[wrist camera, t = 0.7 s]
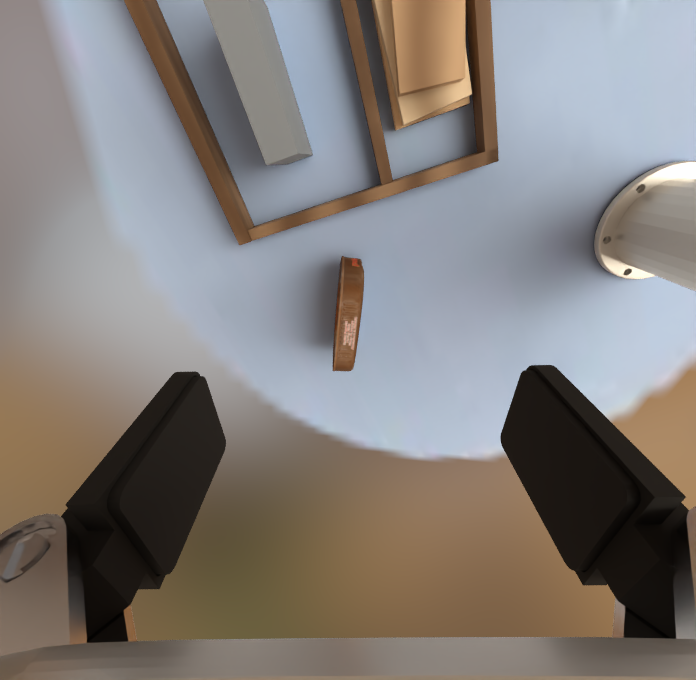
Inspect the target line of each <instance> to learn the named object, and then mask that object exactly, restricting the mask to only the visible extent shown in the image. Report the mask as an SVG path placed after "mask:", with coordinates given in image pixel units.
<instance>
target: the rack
mask: <svg viewBox="0 0 696 680" xmlns="http://www.w3.org/2000/svg"><path fill="white" fill-rule="evenodd" d="M124 1H125V3H126V6H127V8H128V10H129V12H130V14H131V16H132V18H133V20H134V23H135V25H136V27H137V29H138V31H139V33H140V35H141V37H142V40H143V42H144V44H145V46H146V48H147V50H148V52H149V54H150V56H151V59H152V61H153V63H154V65H155V67H156V69H157V71H158V73H159V76H160V78H161V80H162V82H163V84H164V86H165V88H166V90H167V93H168V95H169V97H170V99H171V101H172V103H173V105H174V107H175V109H176V112H177V114H178V116H179V118H180V120H181V122H182V124H183V126H184V129H185V131H186V133H187V135H188V137H189V139H190V141H191V143H192V146H193V148H194V150H195V152H196V154H197V156H198V158H199V160H200V162H201V165H202V167H203V169H204V171H205V173H206V175H207V177H208V179H209V182H210V184H211V186H212V188H213V190H214V192H215V194H216V196H217V199H218V201H219V203H220V205H221V207H222V209H223V211H224V213H225V215H226V218H227V220H228V222H229V224H230V226H231V228H232V230H233V232H234V235H235V237H236V239H237V241H238V243H239V245H242V244H245V243H248V242H251V241H253V240H256V239H259V238H262V237H265V236H268V235H271V234H274V233H277V232H280V231H284V230H287V229H290V228H293V227H296V226H299V225H302V224H305V223H308V222H311V221H314V220H318V219H321V218H324V217H327V216H330V215H333V214H336V213H339V212H342V211H345V210H348V209H352V208H355V207H358V206H361V205H364V204H367V203H370V202H373V201H376V200H379V199H382V198H385V197H389V196H392V195H395V194H398V193H401V192H404V191H407V190H410V189H413V188H416V187H419V186H423V185H426V184H429V183H432V182H435V181H438V180H441V179H444V178H447V177H450V176H453V175H456V174H460V173H463V172H466V171H469V170H472V169H475V168H478V167H481V166H484V165H487V164H490V163H494V162H497V161H498V142H497V122H496V102H495V82H494V62H493V42H492V22H491V2H490V0H465V7H466V20H467V32H468V45H469V57H470V70H471V83H472V95H473V108H474V120H475V133H476V146H477V152H476V153H473V154H470V155H467V156H464V157H461V158H458V159H455V160H452V161H449V162H446V163H443V164H440V165H437V166H434V167H431V168H428V169H425V170H422V171H419V172H416V173H413V174H410V175H407V176H404V177H401V178H398V179H395V180H393V179H392V174H391V169H390V165H389V160H388V155H387V150H386V145H385V140H384V135H383V130H382V125H381V121H380V116H379V111H378V106H377V101H376V96H375V91H374V86H373V82H372V77H371V72H370V67H369V62H368V57H367V52H366V47H365V43H364V38H363V33H362V28H361V23H360V18H359V13H358V8H357V3H356V0H340V2H341V7H342V11H343V16H344V20H345V25H346V29H347V34H348V38H349V43H350V47H351V52H352V56H353V61H354V65H355V70H356V74H357V79H358V83H359V88H360V92H361V97H362V101H363V105H364V110H365V114H366V119H367V123H368V128H369V132H370V137H371V141H372V146H373V150H374V155H375V159H376V164H377V168H378V173H379V177H380V182H381V184H380V185H377V186H374V187H371V188H368V189H365V190H362V191H359V192H356V193H353V194H350V195H347V196H344V197H341V198H338V199H335V200H332V201H329V202H326V203H323V204H320V205H317V206H314V207H311V208H308V209H305V210H302V211H299V212H296V213H293V214H290V215H287V216H284V217H281V218H278V219H275V220H272V221H269V222H266V223H263V224H260V225H257V226H254V224H253V222H252V219H251V217H250V215H249V213H248V210H247V208H246V206H245V203H244V201H243V199H242V196H241V194H240V192H239V190H238V187H237V185H236V183H235V180H234V178H233V176H232V173H231V171H230V169H229V167H228V164H227V162H226V160H225V157H224V155H223V153H222V150H221V148H220V146H219V144H218V141H217V139H216V137H215V134H214V132H213V130H212V127H211V125H210V123H209V121H208V118H207V116H206V114H205V111H204V109H203V107H202V104H201V102H200V100H199V98H198V95H197V93H196V91H195V88H194V86H193V84H192V81H191V79H190V77H189V75H188V72H187V70H186V68H185V65H184V63H183V61H182V58H181V56H180V54H179V52H178V49H177V47H176V45H175V42H174V40H173V38H172V35H171V33H170V31H169V29H168V26H167V24H166V22H165V19H164V17H163V15H162V12H161V10H160V8H159V6H158V3H157V1H156V0H124Z"/></svg>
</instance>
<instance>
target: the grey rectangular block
mask: <svg viewBox="0 0 696 680" xmlns="http://www.w3.org/2000/svg"><path fill="white" fill-rule="evenodd" d="M203 1H204V3H205V6H206V9H207V11H208V14H209V16H210V19H211V22H212V24H213V27H214V30H215V32H216V35H217V37H218V40H219V43H220V45H221V48H222V51H223V53H224V56H225V59H226V61H227V64H228V66H229V69H230V72H231V74H232V77H233V80H234V82H235V85H236V87H237V90H238V93H239V95H240V98H241V101H242V103H243V106H244V108H245V111H246V114H247V116H248V119H249V122H250V124H251V127H252V129H253V132H254V135H255V137H256V140H257V143H258V145H259V148H260V150H261V153H262V156H263V158H264V161H265V164H266V165H283V164H290V163H293V162H295V161H298V160H301V159H304V158H306V157H309V156H312V155H313V153H312V150H311V146H310V143H309V140H308V137H307V133H306V130H305V127H304V124H303V120H302V117H301V114H300V111H299V108H298V104H297V101H296V98H295V95H294V91H293V88H292V85H291V82H290V78H289V75H288V72H287V69H286V65H285V62H284V59H283V56H282V53H281V49H280V46H279V43H278V40H277V36H276V33H275V30H274V27H273V23H272V20H271V17H270V14H269V10H268V7H267V5H266V4H265V2H264V0H203Z"/></svg>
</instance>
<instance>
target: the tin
mask: <svg viewBox="0 0 696 680" xmlns="http://www.w3.org/2000/svg"><path fill="white" fill-rule="evenodd" d="M363 290H364V270H363V267H362V262H361V260H360V259H357V258H346V257H344V256H342V258H341V263H340V272H339V283H338V295H337V306H336V317H335V330H334V345H333V346H334V347H333V371H351V370H352V369H353V367H354V362H355V356H356V349H357V342H358V335H359V327H360V319H361V310H362V302H363Z"/></svg>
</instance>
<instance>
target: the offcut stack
mask: <svg viewBox="0 0 696 680" xmlns="http://www.w3.org/2000/svg"><path fill="white" fill-rule="evenodd" d="M371 2H372V8H373V13H374V19H375V24H376V29H377V35H378V40H379V45H380V51H381V56H382V62H383V67H384V72H385V78H386V83H387V88H388V94H389V99H390V104H391V110H392V115H393V121H394V126H395V131H396V130H399V129H401V128H404V127H407V126H410V125H412V124H415V123H418V122H421V121H423V120H426V119H429V118H432V117H435V116H437V115H440V114H443V113H446V112H448V111H451V110H454V109H457V108H460V107H462V106H465V105H467V104H469V103H470V100H469V96H470V95H471V94H472V89H471V82H470V75H469V68H468V61H467V54H466V47H465V0H371Z"/></svg>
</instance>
